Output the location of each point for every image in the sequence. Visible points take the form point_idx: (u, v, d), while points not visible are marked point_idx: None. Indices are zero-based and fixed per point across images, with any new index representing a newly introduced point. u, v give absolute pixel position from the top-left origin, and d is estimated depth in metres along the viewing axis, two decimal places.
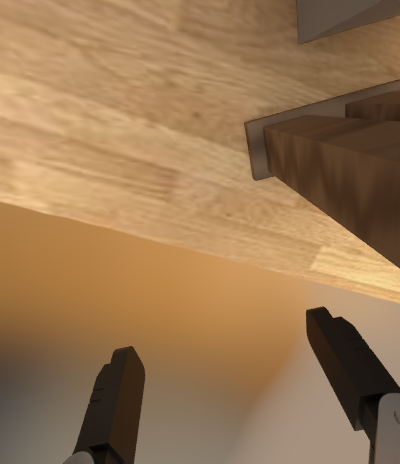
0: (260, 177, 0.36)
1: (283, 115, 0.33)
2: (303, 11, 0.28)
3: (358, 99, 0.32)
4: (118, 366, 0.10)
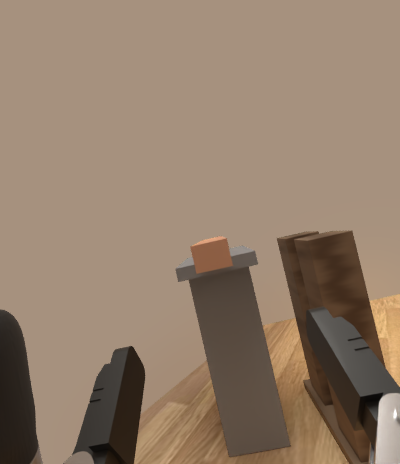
0: None
1: (344, 445, 0.36)
2: (271, 438, 0.40)
3: (319, 399, 0.46)
4: (118, 366, 0.10)
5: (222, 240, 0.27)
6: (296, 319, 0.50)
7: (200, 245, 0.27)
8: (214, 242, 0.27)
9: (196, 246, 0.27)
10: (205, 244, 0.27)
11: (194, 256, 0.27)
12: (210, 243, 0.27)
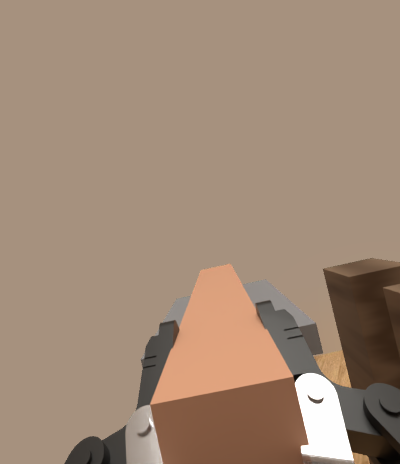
0: None
1: None
2: None
3: None
4: (167, 336, 0.11)
5: (276, 384, 0.07)
6: None
7: (189, 401, 0.07)
8: (244, 392, 0.07)
9: (173, 404, 0.07)
10: (209, 398, 0.07)
11: (166, 443, 0.07)
12: (228, 394, 0.07)
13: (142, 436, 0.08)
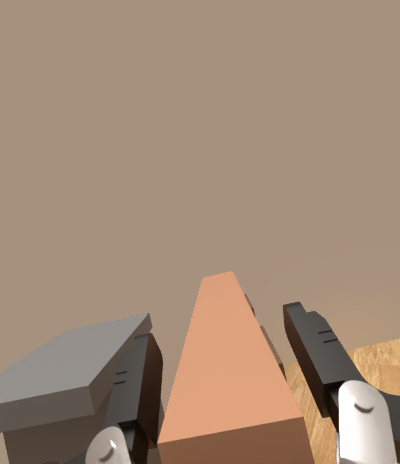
0: None
1: None
2: None
3: None
4: (140, 350, 0.10)
5: (286, 424, 0.07)
6: None
7: (197, 441, 0.07)
8: (254, 432, 0.07)
9: (181, 443, 0.07)
10: (217, 437, 0.07)
11: None
12: (237, 433, 0.07)
13: (102, 461, 0.07)
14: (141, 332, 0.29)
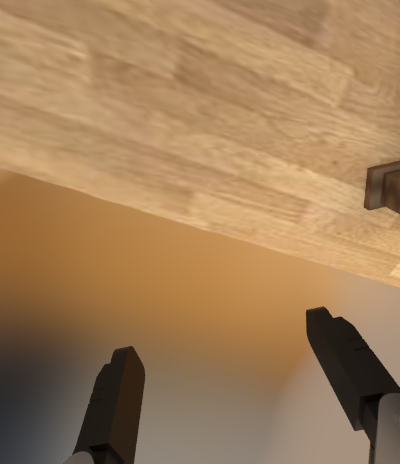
0: (373, 207, 0.48)
1: None
2: None
3: None
4: (118, 366, 0.10)
5: None
6: None
7: None
8: None
9: None
10: None
11: None
12: None
13: None
14: None
